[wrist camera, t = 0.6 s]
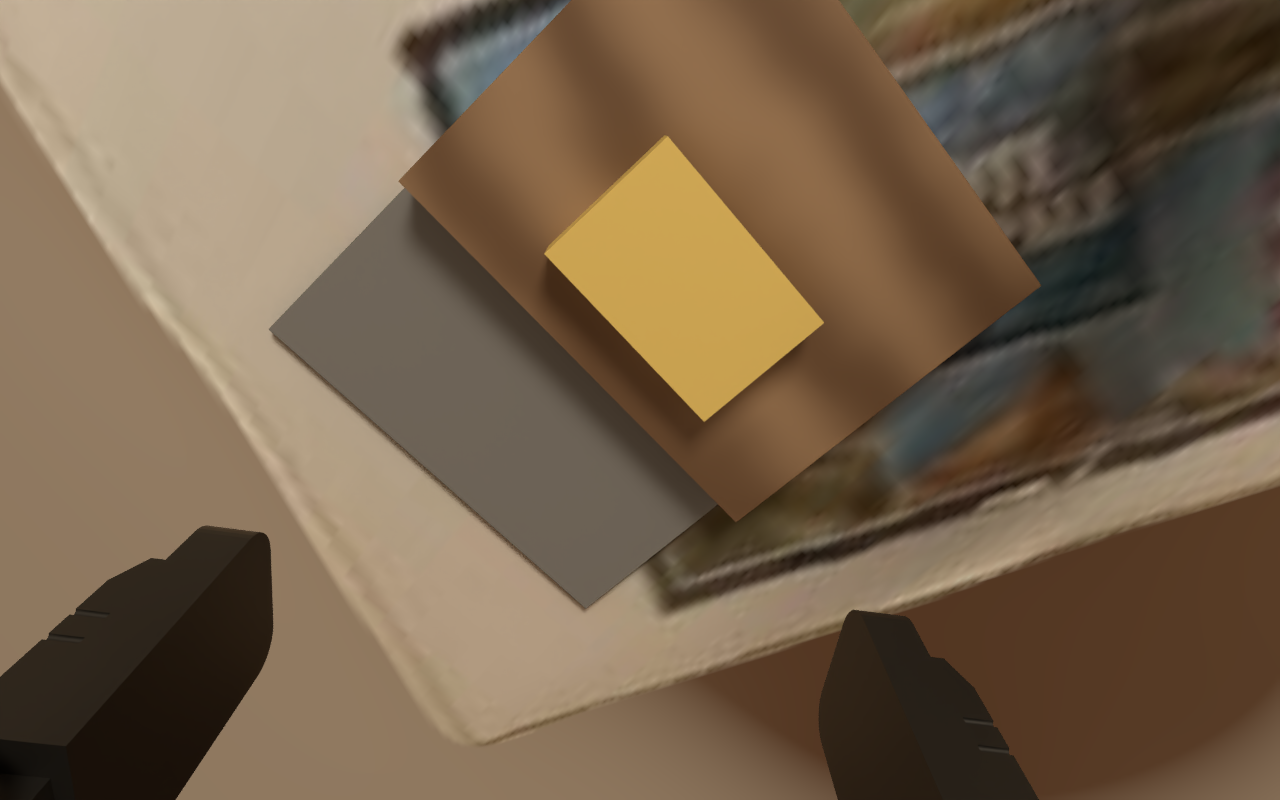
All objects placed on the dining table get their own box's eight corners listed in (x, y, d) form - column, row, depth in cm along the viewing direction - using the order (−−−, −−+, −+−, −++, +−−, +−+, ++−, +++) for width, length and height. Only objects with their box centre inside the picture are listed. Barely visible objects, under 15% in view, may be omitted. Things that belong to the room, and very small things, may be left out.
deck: (714, -132, 27) (724, -160, 24) (1005, 271, 33) (1041, 285, 30) (418, 175, 30) (398, 181, 28) (727, 491, 36) (735, 522, 33)
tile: (664, 135, 27) (668, 136, 25) (811, 310, 30) (824, 322, 28) (549, 244, 29) (544, 253, 27) (699, 404, 31) (704, 421, 29)
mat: (413, 180, 31) (410, 181, 30) (722, 494, 36) (723, 500, 36) (273, 326, 33) (268, 329, 32) (586, 602, 38) (585, 608, 38)
